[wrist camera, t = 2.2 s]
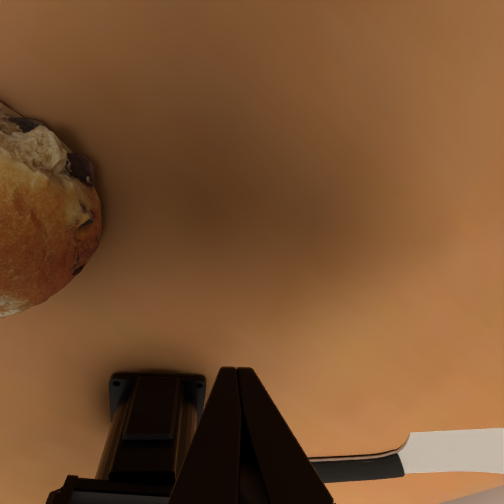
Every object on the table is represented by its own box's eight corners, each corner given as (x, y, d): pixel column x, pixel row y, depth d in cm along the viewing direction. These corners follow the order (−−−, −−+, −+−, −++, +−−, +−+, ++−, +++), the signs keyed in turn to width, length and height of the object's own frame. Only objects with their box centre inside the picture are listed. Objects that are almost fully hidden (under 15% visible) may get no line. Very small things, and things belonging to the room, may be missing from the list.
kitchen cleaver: (599, 416, 30) (552, 484, 34) (580, 401, 32) (537, 468, 35) (283, 423, 26) (268, 501, 29) (279, 406, 27) (265, 482, 31)
